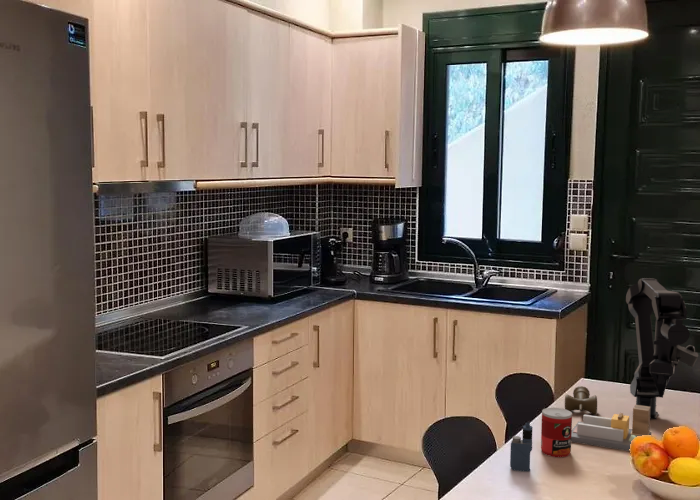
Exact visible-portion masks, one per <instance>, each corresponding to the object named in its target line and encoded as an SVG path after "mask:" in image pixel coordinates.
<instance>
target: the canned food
mask: <svg viewBox="0 0 700 500" xmlns="http://www.w3.org/2000/svg"><path fill="white" fill-rule="evenodd" d="M540 429H541V432H540V434H541V435H540V449H541V452H542V454H544V455H546V456H547V457H548V456H549V457H552V458H567V457H569V456H570V455H571V452H572V442H571V434H572V430H573V412H572V411H571V412H570V411H568V410H566V409H565V408H561V407H546V408H543V409H542V410H541V428H540Z"/></svg>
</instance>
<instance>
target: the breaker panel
mask: <svg viewBox="0 0 700 500" xmlns="http://www.w3.org/2000/svg"><path fill="white" fill-rule="evenodd" d="M582 419H583V420H582V421H580V420H578V421H577V423H576V424H575V425H574V426H573V427H572V434H571V443H577V444H582V445H589V446H595V447H601V448H606V449H607V448H609V449H614V450H620V451H626V452H627V451H628V452H630V451H629V449H630V444H631V441H632V440H633V439H634V438H635V437H637V436H642V435H640V434H634V433H632V428H629V434H628V436H627V438H626V439H623V432H624V429H617V428H611V419H612V417H605V416H597V415H590V414H583V417H582ZM648 435H651V436H652V432H651V430H649V433H648Z"/></svg>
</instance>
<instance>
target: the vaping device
mask: <svg viewBox="0 0 700 500" xmlns="http://www.w3.org/2000/svg"><path fill="white" fill-rule="evenodd" d="M532 451H533V426H532V425H531V423H530V422H525V425H522V437H521V436H518V435H514V436H512V440H511V443H510V453H509V454H510V455H509V456H510V457H509V458H510V459H509V466H510V469H511V471H513V472H515V471H516V472H517V471H518V472H530V471H531V469H530V468H531V452H532Z"/></svg>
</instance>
